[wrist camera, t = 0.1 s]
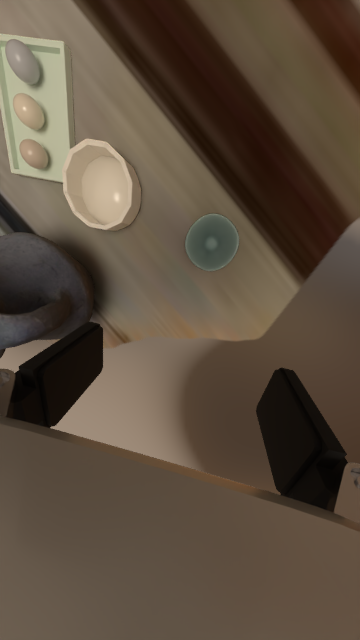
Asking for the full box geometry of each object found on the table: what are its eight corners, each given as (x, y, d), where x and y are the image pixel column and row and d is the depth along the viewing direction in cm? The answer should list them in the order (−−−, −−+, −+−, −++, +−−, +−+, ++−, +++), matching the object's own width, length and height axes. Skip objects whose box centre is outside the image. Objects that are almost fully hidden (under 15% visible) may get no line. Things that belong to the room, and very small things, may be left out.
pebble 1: (21, 53, 29) (-6, 27, 25) (44, 57, 29) (20, 30, 25) (25, 89, 31) (0, 69, 27) (47, 92, 30) (25, 72, 27)
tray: (-2, 41, 29) (-13, 31, 28) (70, 51, 28) (63, 41, 27) (18, 175, 36) (11, 172, 35) (77, 186, 35) (71, 183, 34)
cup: (183, 245, 37) (174, 246, 28) (211, 210, 34) (211, 199, 25) (211, 272, 38) (211, 281, 29) (241, 241, 35) (251, 241, 26)
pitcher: (23, 232, 41) (-210, 221, 18) (115, 236, 38) (-26, 230, 15) (46, 317, 49) (-95, 382, 26) (123, 326, 46) (39, 407, 24)
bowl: (78, 147, 33) (59, 134, 29) (144, 158, 32) (134, 146, 28) (81, 223, 38) (65, 221, 34) (138, 235, 37) (129, 234, 33)
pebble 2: (27, 102, 31) (3, 83, 28) (48, 105, 31) (27, 87, 27) (30, 132, 33) (8, 119, 29) (51, 136, 33) (31, 123, 29)
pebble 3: (32, 143, 34) (10, 131, 30) (52, 147, 33) (32, 135, 30) (35, 170, 35) (15, 162, 32) (54, 174, 35) (36, 166, 31)
